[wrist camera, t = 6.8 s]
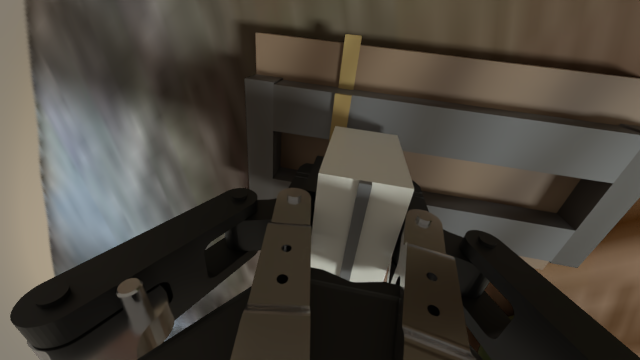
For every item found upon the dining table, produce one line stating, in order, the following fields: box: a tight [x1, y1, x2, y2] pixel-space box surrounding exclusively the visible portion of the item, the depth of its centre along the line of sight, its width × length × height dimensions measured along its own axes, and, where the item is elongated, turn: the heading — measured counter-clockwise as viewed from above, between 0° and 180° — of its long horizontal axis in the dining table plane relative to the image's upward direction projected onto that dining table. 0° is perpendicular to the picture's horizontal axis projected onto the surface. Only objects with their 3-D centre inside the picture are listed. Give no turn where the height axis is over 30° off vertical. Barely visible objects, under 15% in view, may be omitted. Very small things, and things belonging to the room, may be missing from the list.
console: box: [244, 33, 640, 270], centre depth 15 cm, size 20×12×4 cm, turn 84°
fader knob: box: [311, 126, 414, 282], centre depth 12 cm, size 3×5×7 cm, turn 174°
